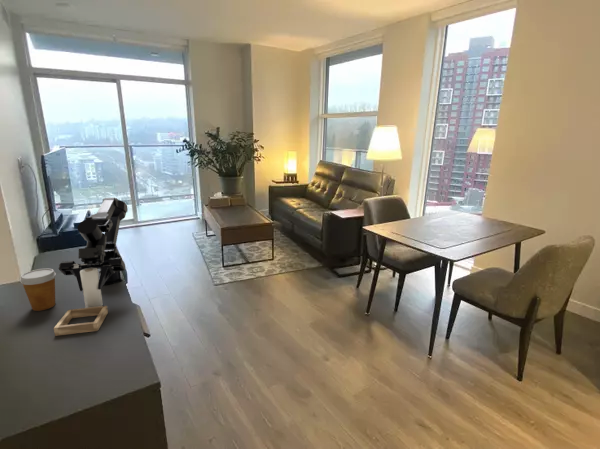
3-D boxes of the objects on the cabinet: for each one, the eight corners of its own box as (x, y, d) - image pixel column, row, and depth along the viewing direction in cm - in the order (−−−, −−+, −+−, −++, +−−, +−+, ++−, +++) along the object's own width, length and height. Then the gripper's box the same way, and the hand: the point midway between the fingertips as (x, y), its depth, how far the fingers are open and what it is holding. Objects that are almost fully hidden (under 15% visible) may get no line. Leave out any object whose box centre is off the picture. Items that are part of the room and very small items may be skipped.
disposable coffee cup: (67, 300, 117) (62, 268, 114) (45, 314, 108) (38, 279, 105) (42, 299, 118) (36, 267, 115) (18, 312, 108) (10, 278, 105)
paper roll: (100, 301, 116) (95, 265, 113) (104, 306, 113) (99, 269, 109) (83, 306, 113) (77, 269, 109) (87, 311, 109) (82, 274, 106)
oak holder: (69, 316, 106) (68, 309, 105) (108, 312, 109) (107, 305, 108) (55, 335, 96) (53, 328, 95) (97, 330, 99) (96, 323, 98)
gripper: (55, 238, 108) (46, 283, 101) (119, 235, 113) (115, 278, 105) (68, 253, 117) (61, 296, 110) (126, 250, 122) (123, 290, 115)
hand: (90, 290), depth 110 cm, fingers closed on paper roll, 5 cm apart
